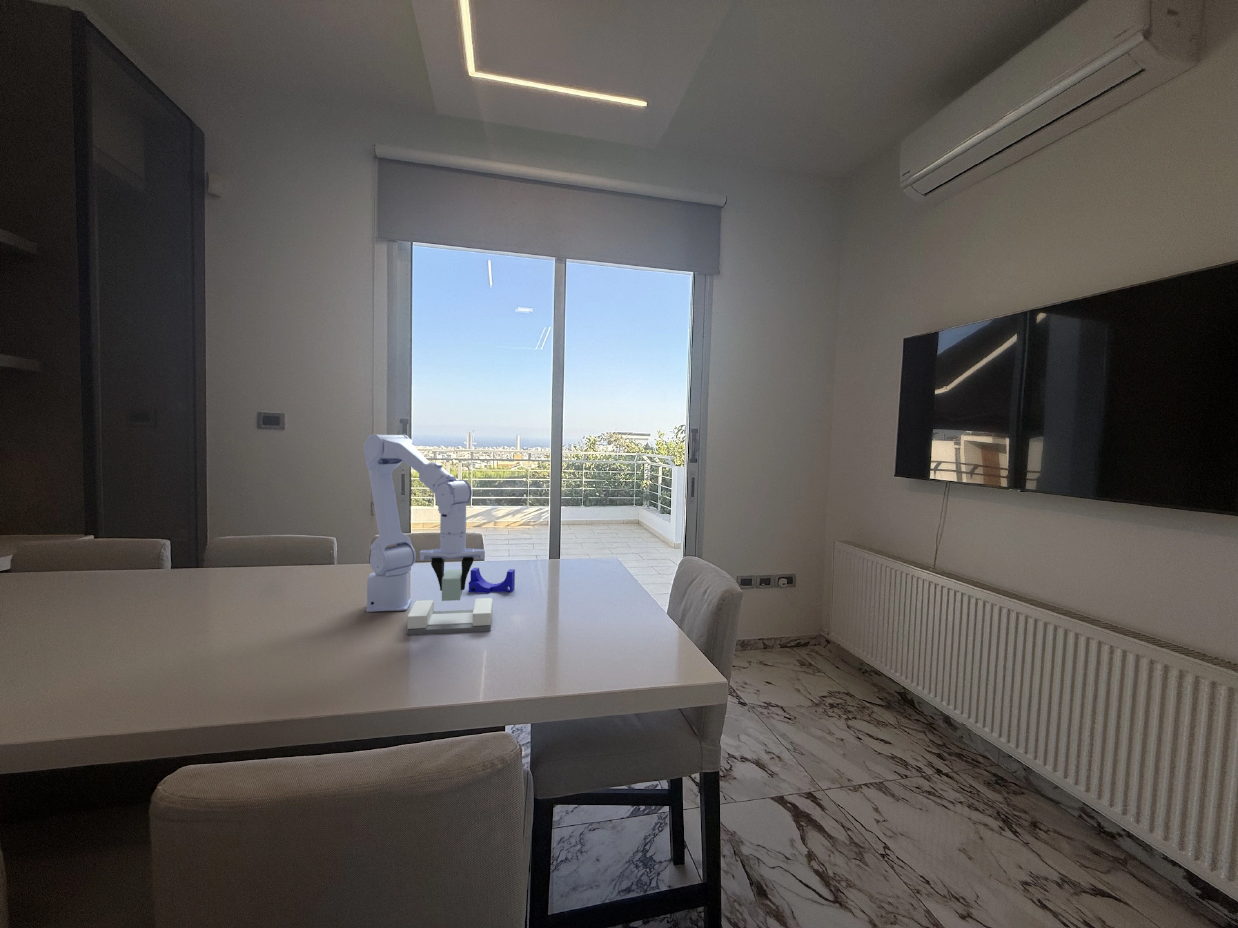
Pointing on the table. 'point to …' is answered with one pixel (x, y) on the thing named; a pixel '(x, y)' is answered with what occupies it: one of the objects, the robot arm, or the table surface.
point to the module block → (451, 585)
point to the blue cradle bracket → (485, 587)
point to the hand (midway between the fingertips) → (452, 589)
